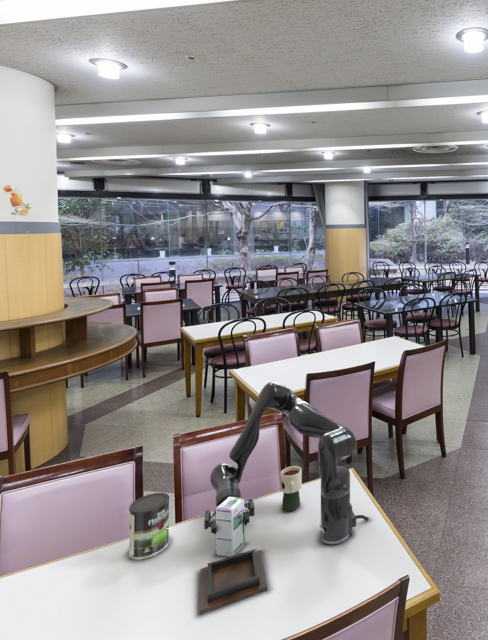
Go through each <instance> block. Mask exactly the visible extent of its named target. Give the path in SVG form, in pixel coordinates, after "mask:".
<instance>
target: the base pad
mask: <svg viewBox="0 0 488 640" xmlns="http://www.w3.org/2000/svg"><path fill="white" fill-rule="evenodd" d="M199 574H200V575H199V576H200V579H199V582H200V583H199V615H203V614H205V613H208V612H212V611H214V610H217V609H219V608H222V607H225V606H227V605H230V604H234V603H237V602H238V601H241V600H244V599H247V598H250V597H252V596H256V595H258V594H261V593H263V592H266V591H268V581H267V577H266V576H267V575H266V571H265V565H264V560H263V554H262V550H261V549H258V550H256V548H253V549H250V550H247V551H244V552H241V553H236V554H235V555H234V556H231V557H228V556H226V557H224V558H222V559H218V560H215V561H212V562H208V563H207V566H205V567H202V568H200V573H199Z"/></svg>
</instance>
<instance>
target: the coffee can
mask: <svg viewBox="0 0 488 640" xmlns="http://www.w3.org/2000/svg"><path fill="white" fill-rule="evenodd" d="M128 510H129V511H128V512H129V543H128V544H129V547H128V549H129V550H128V556H129V558H130V559H132V560H136V561H138V560H139V561H140V560H145V559H149V558H152V557H154V556H156V555H158V554H160V553H161V552H163V551H164V550H165V549H166V548H167V547H168V546H169V542H170V541H169V533H170V532H169V529H167V528H170V527H169V526H170V524H169V522H170V519H169V518H170V516H169V515H170V495H169V494H168V493H166V492H155V493H150V494H146V495H143V496H141V497H139V498H137V499H135V500H134V501H133V502H132V503H131V504H129V507H128Z"/></svg>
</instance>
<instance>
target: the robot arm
mask: <svg viewBox="0 0 488 640" xmlns="http://www.w3.org/2000/svg"><path fill="white" fill-rule="evenodd" d="M267 409H270V410H273V411H276V412H280V413H282V414H283V415H285V416H287V421H288V423H289V425H290V426H291V427H292V429H294V430H295V431H296V432H297V433H299V434H300V435H302V436H304V437H309V438H315V439H318V443H317V456H318V473H319V478H320V523H319V529H320V533H319V534H320V536H319V537H320V540H321V542H322V543H323V544H325V545H330V546H333V545H339V544H341V543H343V542H345V541H346V540H348V539H349V538H350V537H352V536H353V528H355V527H357V520H358V519H363V520H364V521H368V520H369V516H366V515H364V514H358V515H355V513H354V511H353V506H352V503H351V472H350V470H349V469H348V467H345V466H344V465H337V463H338V462H340V461H342V460H344V459H347V458H348V457H351V456H352V455H353V454H354V453H355V452H356V450H357V447H358V442H357V439H356V436H355V434H354V433H353V431H351V430H350V429H349V428H348V427H347V426H346V425H343V424H341V423H339V422H337V421H335V420H333V419H331V418H329V417H328V416H327V415H325V414H324V413H322V412H321V411H319V410H318V409H317V408H315V407H314V406H313V405H311V403H308V402H306V401H305V400H303V399H301V398H299V397H298V396H297V394H296V393H294V391H293V390H292V389H291V388H289V387H287V386H286V385H282V384H279V383H277V382H273V381H271V382H268V383H266V384H265V385H264V386H263V388H262V389H261V390H260V391H259V394H258V396H257V398H256V401H255V402H254V405H253V407H252V408H251V412H250V414H249V416H248V418H247V421H246V423H245V426H244V428H243V429H242V431H241V432H240V435H239V437H238V438H237V440H236V441H235V443H234V445H233V447H232V448H231V449H230V452H229V453H228V457H229V459H230V460H231V461H233V462H234V463H235V464H236V466H233V465H230V464H228V463H224V462H223V463H218V464H217V465H215V467H213V468H212V471H211V473H210V480H209V481H210V484H211V486H212V487H213V490H215V492H216V493H215V494H216V496H215V510H214V511H210V510H209V509H207V510H206V511H204V522H203V524H204V525H203V529H204V530H208V529H209V528H210V533H211V534H213V535H216V508H217V507H218V506H219V505H220V504H221V503H222V502H224V501H225V500H226V499H227V498H228V497H238V498H242V494H241V489H240V487H239V486H240V483H241V481H242V478H243V474H244V470H245V467H246V465H247V462H248V460H249V458H250V456H251V455H252V453H253V452H254V449H255V448H256V446H257V444H258V442H259V438H260V431H261V429H260V428H261V420H262V417H263V416H264V413H265V411H266V410H267ZM255 510H256V507H255V503H254V501H253V498H249V499H248V501H247V502H244V527H247V526H248V524H249V523H250V517H254V516H255V515H256V514H255Z"/></svg>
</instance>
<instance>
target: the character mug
mask: <svg viewBox="0 0 488 640" xmlns="http://www.w3.org/2000/svg"><path fill="white" fill-rule="evenodd" d="M302 470H303V469H302V467H301V466H298V465H292V466H290V465H289V466H287V467H285V468H283V469H281V471H280V492H281V493H283V495H282V501H281V510H282V511H284V512H290V511H291V512H292V511H294V510H296V509H298V508H300V506H301V497H300V490H301V489H302V487H303V486H302V485H303V484H302V483H303V482H302V481H303V480H302V479H303V471H302Z"/></svg>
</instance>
